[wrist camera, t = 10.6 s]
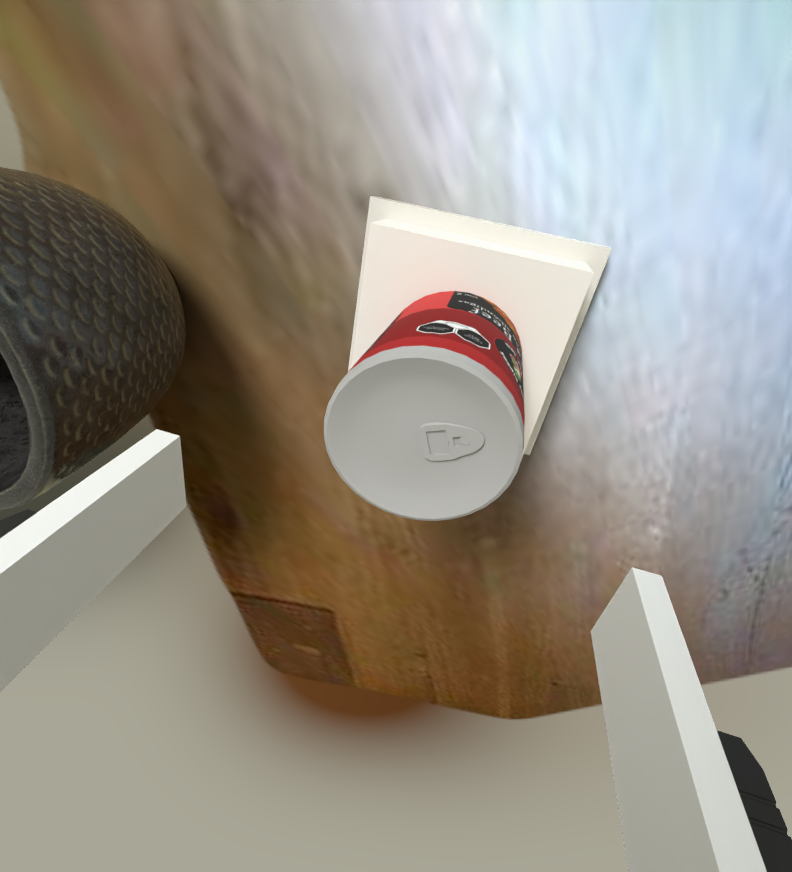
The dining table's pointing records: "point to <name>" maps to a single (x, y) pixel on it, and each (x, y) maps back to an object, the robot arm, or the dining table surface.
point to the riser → (480, 284)
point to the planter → (75, 331)
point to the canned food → (432, 410)
